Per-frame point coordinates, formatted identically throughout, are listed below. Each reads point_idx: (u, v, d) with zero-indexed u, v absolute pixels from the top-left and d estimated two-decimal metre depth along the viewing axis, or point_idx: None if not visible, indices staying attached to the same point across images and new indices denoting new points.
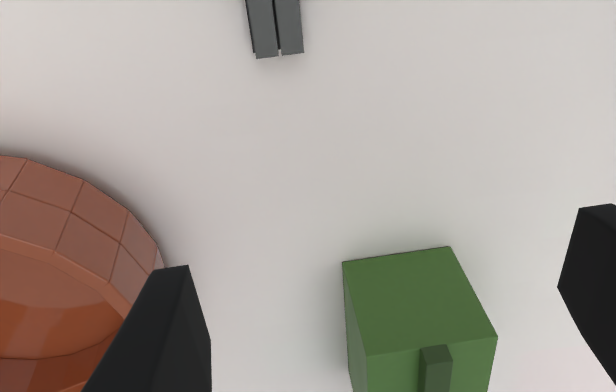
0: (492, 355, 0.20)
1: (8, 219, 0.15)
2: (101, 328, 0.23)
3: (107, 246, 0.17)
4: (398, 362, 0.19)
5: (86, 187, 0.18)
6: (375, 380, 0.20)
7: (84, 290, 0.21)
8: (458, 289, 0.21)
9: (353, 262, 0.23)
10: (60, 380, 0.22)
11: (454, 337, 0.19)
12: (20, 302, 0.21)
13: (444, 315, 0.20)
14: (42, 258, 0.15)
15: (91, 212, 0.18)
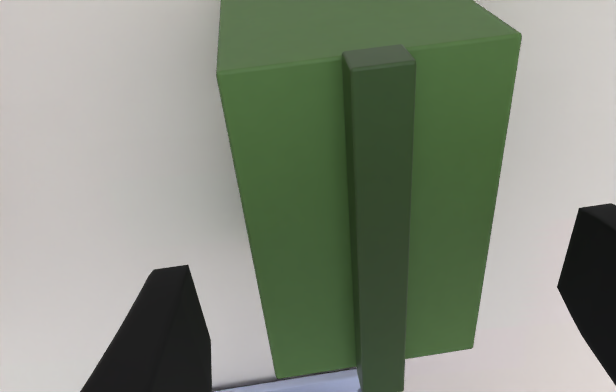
0: (508, 96, 0.09)
1: None
2: None
3: None
4: (294, 96, 0.08)
5: None
6: (250, 151, 0.09)
7: None
8: None
9: None
10: None
11: (421, 39, 0.08)
12: None
13: (404, 20, 0.09)
14: None
15: None
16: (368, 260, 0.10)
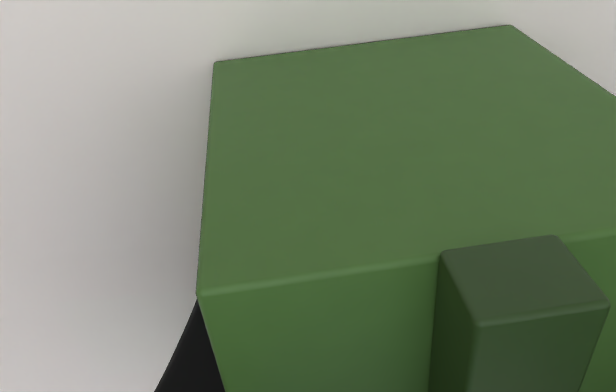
0: None
1: None
2: None
3: None
4: (343, 319, 0.05)
5: None
6: None
7: None
8: (559, 92, 0.06)
9: (243, 60, 0.08)
10: None
11: (582, 214, 0.05)
12: None
13: (527, 152, 0.05)
14: None
15: None
16: None
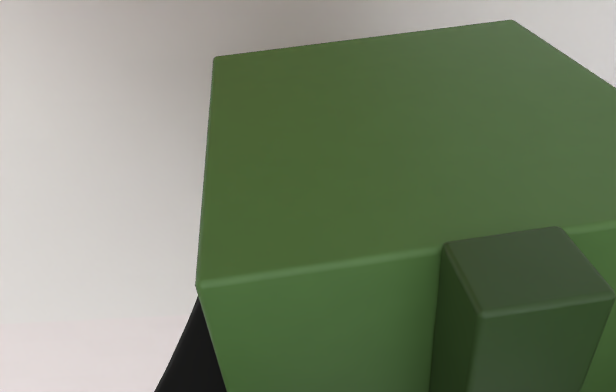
0: None
1: None
2: None
3: None
4: (344, 312, 0.04)
5: None
6: (260, 390, 0.05)
7: None
8: (561, 85, 0.06)
9: (243, 55, 0.08)
10: None
11: (586, 205, 0.04)
12: None
13: (530, 145, 0.05)
14: None
15: None
16: None
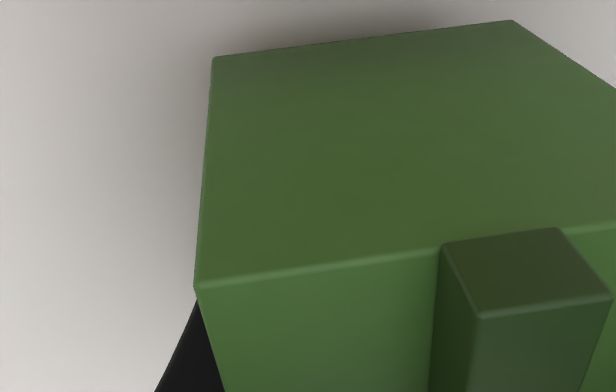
0: None
1: None
2: None
3: None
4: (342, 312, 0.04)
5: None
6: (258, 391, 0.05)
7: None
8: (560, 86, 0.06)
9: (242, 55, 0.08)
10: None
11: (584, 205, 0.04)
12: None
13: (528, 145, 0.05)
14: None
15: None
16: None
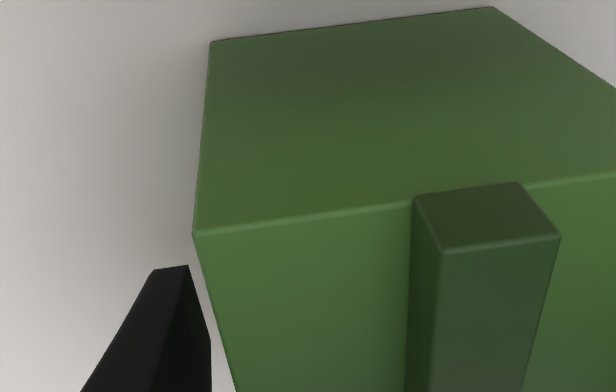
0: None
1: None
2: None
3: None
4: (327, 261, 0.05)
5: None
6: (251, 337, 0.05)
7: None
8: (533, 64, 0.07)
9: (239, 40, 0.09)
10: None
11: (544, 164, 0.05)
12: None
13: (499, 115, 0.06)
14: None
15: None
16: None
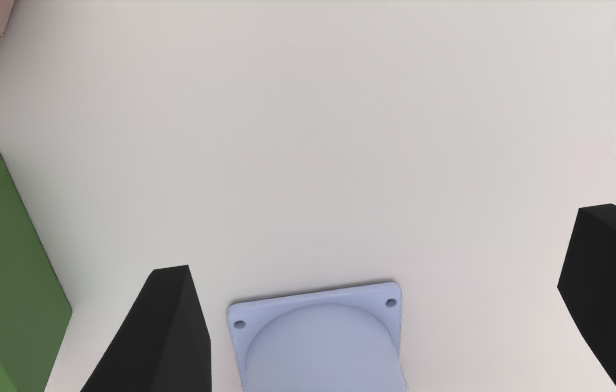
0: None
1: None
2: None
3: None
4: None
5: None
6: None
7: None
8: None
9: None
10: None
11: None
12: None
13: None
14: None
15: None
16: None
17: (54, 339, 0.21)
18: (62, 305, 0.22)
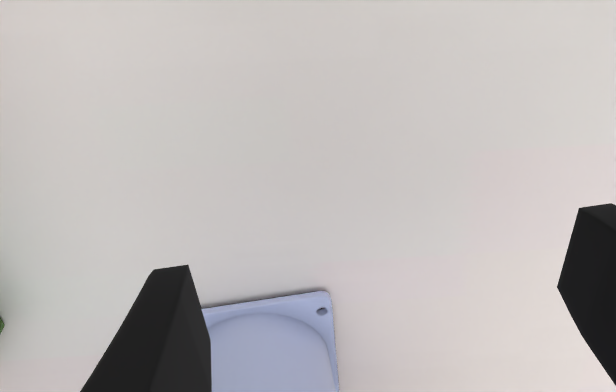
0: None
1: None
2: None
3: None
4: None
5: None
6: None
7: None
8: None
9: None
10: None
11: None
12: None
13: None
14: None
15: None
16: None
17: None
18: None
